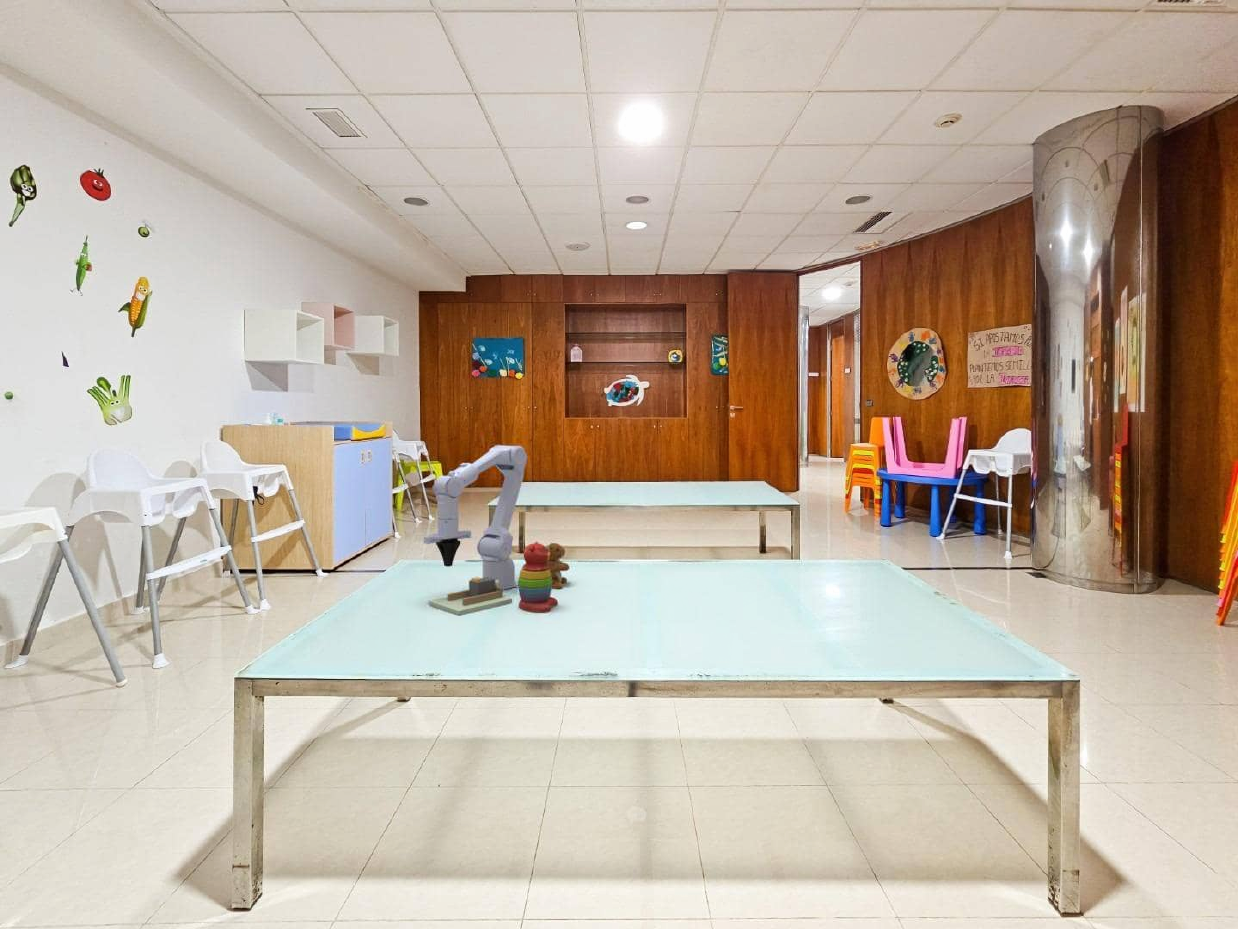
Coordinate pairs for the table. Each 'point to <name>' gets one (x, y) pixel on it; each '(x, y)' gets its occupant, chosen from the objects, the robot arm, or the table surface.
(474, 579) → the plug block
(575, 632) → the table surface
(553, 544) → the brown teddy bear
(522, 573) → the stacking bear
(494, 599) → the board
